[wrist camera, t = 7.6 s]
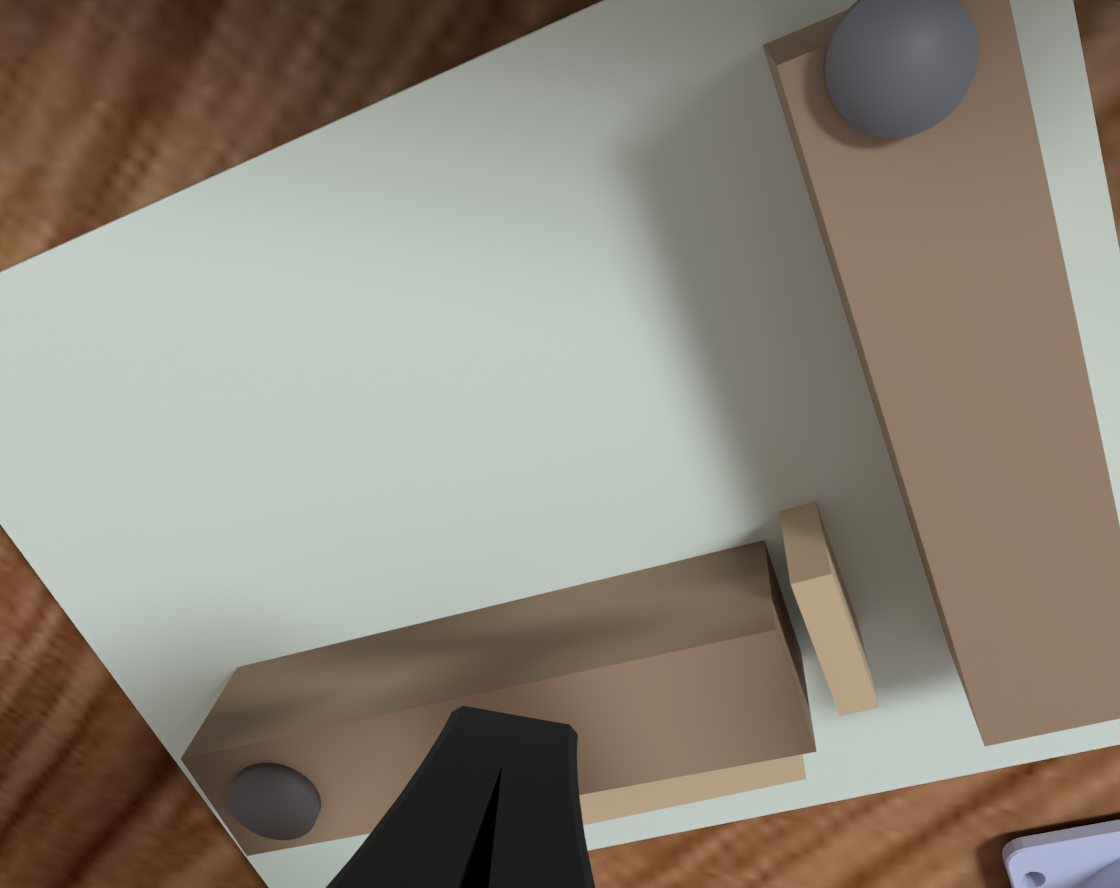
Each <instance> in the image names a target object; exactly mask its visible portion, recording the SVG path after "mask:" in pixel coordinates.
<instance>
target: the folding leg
mask: <svg viewBox="0 0 1120 888" xmlns="http://www.w3.org/2000/svg"><path fill="white" fill-rule="evenodd" d="M461 706H468V707H473V708H479V709H485V710H490V711H496V712H502V713H507V714H513V715H519V716H524V717H530V718H536V719H541V720H547V721H553V722H558V723H564V724H570V725H571V727H572V728H573V729H574V730H575V731H576V733H577V734H578V741H577V772H578V786H579V795H583V794H589V793H594V792H599V791H605V790H610V789H616V788H621V787H627V786H632V785H638V784H643V783H649V782H654V781H660V780H665V779H670V778H676V777H681V776H687V775H692V774H698V773H703V772H709V771H714V770H720V769H725V768H731V767H736V766H742V765H747V764H752V763H758V762H763V761H769V760H774V759H780V758H785V757H791V756H796V755H802V754H807V753H813V752H817V751H816V745H815V738H814V732H813V725H812V719H811V713H810V706H809V700H808V693H807V687H806V680H805V674H804V668H803V661H802V655H801V650H800V647H799V644H798V641H797V638H796V635H795V632H794V629H793V626H792V623H791V620H790V617H789V614H788V611H787V608H786V604H785V601H784V598H783V595H782V592H781V589H780V586H779V583H778V580H777V577H776V574H775V571H774V568H773V565H772V562H771V559H770V556H769V553H768V550H767V546H766V543H765V540H763V541H758V542H754V543H750V544H746V545H742V546H738V547H734V548H729V549H725V550H721V551H717V552H713V553H709V554H705V555H700V556H696V557H692V558H688V559H684V560H680V561H676V562H671V563H667V564H663V565H659V566H655V567H651V568H647V569H642V570H638V571H634V572H630V573H626V574H622V575H617V576H613V577H609V578H605V579H601V580H597V581H593V582H588V583H584V584H580V585H576V586H572V587H568V588H564V589H559V590H555V591H551V592H547V593H543V594H539V595H535V596H530V597H526V598H522V599H518V600H514V601H510V602H506V603H501V604H497V605H493V606H489V607H485V608H481V609H477V610H472V611H468V612H464V613H460V614H456V615H452V616H448V617H443V618H439V619H435V620H431V621H427V622H423V623H419V624H414V625H410V626H406V627H402V628H398V629H394V630H390V631H385V632H381V633H377V634H373V635H369V636H365V637H361V638H356V639H352V640H348V641H344V642H340V643H336V644H332V645H327V646H323V647H319V648H315V649H311V650H307V651H303V652H298V653H294V654H290V655H286V656H282V657H278V658H274V659H269V660H265V661H261V662H257V663H253V664H249V665H245V666H240V667H237V669H236V671H235V672H234V674H233V675H232V677H231V679H230V680H229V682H228V683H227V685H226V687H225V688H224V690H223V691H222V693H221V695H220V696H219V698H218V699H217V701H216V703H215V704H214V706H213V708H212V709H211V711H210V712H209V714H208V716H207V717H206V719H205V720H204V722H203V724H202V725H201V727H200V728H199V730H198V732H197V733H196V735H195V736H194V738H193V740H192V741H191V743H190V745H189V746H188V748H187V749H186V751H185V753H184V754H183V756H182V757H181V760H182V762H183V763H184V765H185V766H186V768H187V769H188V770H189V772H190V773H191V775H192V776H193V778H194V779H195V781H196V782H197V784H198V785H199V787H200V788H201V790H202V791H203V792H204V794H205V795H206V797H207V798H208V800H209V801H210V803H211V804H212V806H213V807H214V809H215V810H216V812H217V813H218V814H219V816H220V817H221V819H222V820H223V822H224V823H225V825H226V826H227V828H228V829H229V831H230V832H231V834H232V835H233V836H234V838H235V839H236V841H237V842H238V844H239V845H240V847H241V848H242V850H243V851H244V853H245V854H246V856H250V855H255V854H261V853H266V852H272V851H277V850H283V849H288V848H294V847H299V846H305V845H310V844H315V843H321V842H326V841H332V840H337V839H343V838H348V837H354V836H359V835H365V834H370V833H371V832H372V831H373V829H374V828H375V827H376V825H377V824H378V823H379V821H380V820H381V819H382V818H383V816H384V815H385V814H386V812H387V811H388V810H389V808H390V807H391V806H392V804H393V803H394V802H395V801H396V799H397V798H398V797H399V795H400V794H401V792H402V791H403V789H404V788H405V787H406V785H407V784H408V782H409V781H410V779H411V778H412V777H413V775H414V774H415V772H416V771H417V769H418V768H419V766H420V765H421V763H422V762H423V760H424V759H425V757H426V756H427V754H428V753H429V751H430V749H431V748H432V746H433V745H434V743H435V741H436V740H437V738H438V736H439V735H440V733H441V731H442V729H443V728H444V726H445V724H446V722H447V720H448V718H449V716H450V714H451V712H452V711H454V710H456V709H458V708H459V707H461Z"/></svg>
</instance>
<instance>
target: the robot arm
mask: <svg viewBox="0 0 1120 888" xmlns="http://www.w3.org/2000/svg"><path fill="white" fill-rule="evenodd" d="M577 741H578V734H577V733H576V731H575V730H574V729H573V728H572V727H571V725H570V724H564V723H558V722H553V721H547V720H541V719H536V718H530V717H524V716H519V715H513V714H507V713H502V712H496V711H490V710H485V709H479V708H473V707H468V706H461V707H459V708H458V709H456V710H454V711H452V712H451V714H450V716H449V718H448V720H447V722H446V724H445V726H444V728H443V729H442V731H441V733H440V735H439V736H438V738H437V740H436V741H435V743H434V745H433V746H432V748H431V749H430V751H429V753H428V754H427V756H426V757H425V759H424V760H423V762H422V763H421V765H420V766H419V768H418V769H417V771H416V772H415V774H414V775H413V777H412V778H411V779H410V781H409V782H408V784H407V785H406V787H405V788H404V789H403V791H402V792H401V794H400V795H399V797H398V798H397V799H396V801H395V802H394V803H393V804H392V806H391V807H390V808H389V810H388V811H387V812H386V814H385V815H384V816H383V818H382V819H381V820H380V821H379V823H378V824H377V825H376V827H375V828H374V829H373V831H372V832H371V833H370V835H369V836H368V837H367V838H366V840H365V841H364V842H363V844H362V845H361V846H360V848H359V849H358V850H357V851H356V852H355V854H354V855H353V856H352V857H351V859H350V860H349V861H348V862H347V863H346V864H345V866H344V867H343V868H342V869H341V870H340V871H339V873H338V874H337V875H336V876H335V877H334V878H333V880H332V881H331V882H330V883H329V884H328V885H327V886H326V888H595V885H594V880H593V875H592V871H591V866H590V861H589V856H588V851H587V845H586V839H585V833H584V827H583V820H582V812H581V805H580V797H579V786H578V772H577ZM1002 857H1003V861H1004V864H1005V867H1006V870H1007V873H1008V877H1009V880H1010V883H1011V886H1012V888H1120V819H1119V820H1113V821H1107V822H1102V823H1096V824H1091V825H1085V826H1080V827H1074V828H1069V829H1063V830H1058V831H1052V832H1047V833H1041V834H1035V835H1030V836H1024V837H1019V838H1016V839H1013V840H1011V841H1010V842H1009V843H1007V844H1006V845H1005V846H1004V848H1003V850H1002ZM1029 872H1033V873H1029Z"/></svg>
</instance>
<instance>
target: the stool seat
mask: <svg viewBox="0 0 1120 888" xmlns="http://www.w3.org/2000/svg"><path fill="white" fill-rule="evenodd" d="M0 524H1V526H2V527H3V529H4V530H5V531H6V533H7V534H8V535H9V537H10V538H11V539H12V541H13V542H14V543H15V545H16V546H17V547H18V549H19V550H20V552H21V553H22V554H23V556H24V557H25V558H26V560H27V561H28V562H29V564H30V565H31V566H32V568H33V569H34V570H35V572H36V573H37V575H38V576H39V577H40V579H41V580H42V581H43V583H44V584H45V585H46V587H47V588H48V589H49V591H50V592H51V594H52V595H53V596H54V598H55V599H56V600H57V602H58V603H59V604H60V606H61V607H62V608H63V610H64V611H65V612H66V614H67V615H68V617H69V618H70V619H71V621H72V622H73V623H74V625H75V626H76V627H77V629H78V630H79V631H80V633H81V634H82V635H83V637H84V638H85V640H86V641H87V642H88V644H89V645H90V646H91V648H92V649H93V650H94V652H95V653H96V654H97V656H98V657H99V659H100V660H101V661H102V663H103V664H104V665H105V667H106V668H107V669H108V671H109V672H110V673H111V675H112V676H113V677H114V679H115V680H116V682H117V683H118V684H119V686H120V687H121V688H122V690H123V691H124V692H125V694H126V695H127V696H128V698H129V699H130V700H131V702H132V703H133V705H134V706H135V707H136V709H137V710H138V711H139V713H140V714H141V715H142V717H143V718H144V719H145V721H146V722H147V724H148V725H149V726H150V728H151V729H152V730H153V732H154V733H155V734H156V736H157V737H158V738H159V740H160V741H161V742H162V744H163V745H164V747H165V748H166V749H167V751H168V752H169V753H170V755H171V756H172V757H173V759H174V760H175V761H176V763H177V764H178V765H179V767H180V768H181V770H182V771H183V772H184V774H185V775H186V776H187V778H188V779H189V780H190V782H191V783H192V784H193V786H194V787H195V789H196V790H197V791H198V793H199V794H200V795H201V797H202V798H203V799H204V801H205V802H206V803H207V805H208V806H209V807H210V809H211V810H212V812H213V813H214V814H215V816H216V817H217V818H218V820H219V821H220V822H221V824H222V825H223V826H224V828H225V829H226V830H227V832H228V833H229V835H230V836H231V837H232V839H233V840H234V841H235V843H236V844H237V845H238V847H239V848H240V849H241V851H242V852H243V854H244V855H245V856H246V854H245V853H244V851H243V850H242V848H241V847H240V845H239V844H238V842H237V841H236V839H235V838H234V836H233V835H232V834H231V832H230V831H229V829H228V828H227V826H226V825H225V823H224V822H223V820H222V819H221V817H220V816H219V814H218V813H217V812H216V810H215V809H214V807H213V806H212V804H211V803H210V801H209V800H208V798H207V797H206V795H205V794H204V792H203V791H202V790H201V788H200V787H199V785H198V784H197V782H196V781H195V779H194V778H193V776H192V775H191V773H190V772H189V770H188V769H187V768H186V766H185V765H184V763H183V762H182V760H181V757H182V756H183V754H184V753H185V751H186V749H187V748H188V746H189V745H190V743H191V741H192V740H193V738H194V736H195V735H196V733H197V732H198V730H199V728H200V727H201V725H202V724H203V722H204V720H205V719H206V717H207V716H208V714H209V712H210V711H211V709H212V708H213V706H214V704H215V703H216V701H217V699H218V698H219V696H220V695H221V693H222V691H223V690H224V688H225V687H226V685H227V683H228V682H229V680H230V679H231V677H232V675H233V674H234V672H235V671H236V669H237V667H240V666H245V665H249V664H253V663H257V662H261V661H265V660H269V659H274V658H278V657H282V656H286V655H290V654H294V653H298V652H303V651H307V650H311V649H315V648H319V647H323V646H327V645H332V644H336V643H340V642H344V641H348V640H352V639H356V638H361V637H365V636H369V635H373V634H377V633H381V632H385V631H390V630H394V629H398V628H402V627H406V626H410V625H414V624H419V623H423V622H427V621H431V620H435V619H439V618H443V617H448V616H452V615H456V614H460V613H464V612H468V611H472V610H477V609H481V608H485V607H489V606H493V605H497V604H501V603H506V602H510V601H514V600H518V599H522V598H526V597H530V596H535V595H539V594H543V593H547V592H551V591H555V590H559V589H564V588H568V587H572V586H576V585H580V584H584V583H588V582H593V581H597V580H601V579H605V578H609V577H613V576H617V575H622V574H626V573H630V572H634V571H638V570H642V569H647V568H651V567H655V566H659V565H663V564H667V563H671V562H676V561H680V560H684V559H688V558H692V557H696V556H700V555H705V554H709V553H713V552H717V551H721V550H725V549H729V548H734V547H738V546H742V545H746V544H750V543H754V542H758V541H763V540H765V543H766V546H767V550H768V553H769V556H770V559H771V562H772V565H773V568H774V571H775V574H776V577H777V580H778V583H779V586H780V589H781V592H782V595H783V598H784V601H785V604H786V608H787V611H788V614H789V617H790V620H791V623H792V626H793V629H794V632H795V635H796V638H797V641H798V644H799V647H800V650H801V655H802V661H803V668H804V674H805V680H806V687H807V693H808V700H809V706H810V713H811V719H812V725H813V732H814V738H815V745H816V751H817V752H813V753H807V754H802V755H796V756H791V757H785V758H780V759H774V760H769V761H763V762H758V763H752V764H747V765H742V766H736V767H731V768H725V769H720V770H714V771H709V772H703V773H698V774H692V775H687V776H681V777H676V778H670V779H665V780H660V781H654V782H649V783H643V784H638V785H632V786H627V787H621V788H616V789H610V790H605V791H599V792H594V793H589V794H583V795H579V797H580V805H581V812H582V820H583V827H584V833H585V839H586V845H587V851H588V850H593V849H598V848H603V847H608V846H613V845H618V844H623V843H628V842H633V841H638V840H643V839H648V838H653V837H658V836H663V835H668V834H673V833H678V832H683V831H688V830H693V829H698V828H703V827H708V826H713V825H718V824H723V823H728V822H733V821H738V820H743V819H748V818H753V817H758V816H763V815H768V814H773V813H778V812H783V811H788V810H793V809H798V808H803V807H808V806H813V805H818V804H823V803H828V802H834V801H839V800H844V799H849V798H854V797H859V796H864V795H869V794H874V793H879V792H884V791H889V790H894V789H899V788H904V787H909V786H914V785H919V784H924V783H929V782H934V781H939V780H944V779H949V778H954V777H959V776H964V775H969V774H974V773H979V772H984V771H989V770H994V769H999V768H1004V767H1009V766H1014V765H1019V764H1024V763H1029V762H1034V761H1039V760H1044V759H1049V758H1054V757H1059V756H1064V755H1069V754H1074V753H1079V752H1084V751H1089V750H1094V749H1099V748H1104V747H1109V746H1114V745H1119V744H1120V251H1119V245H1118V240H1117V235H1116V229H1115V224H1114V218H1113V213H1112V208H1111V202H1110V197H1109V191H1108V186H1107V181H1106V175H1105V170H1104V165H1103V159H1102V154H1101V148H1100V143H1099V138H1098V132H1097V127H1096V121H1095V116H1094V111H1093V105H1092V100H1091V94H1090V89H1089V84H1088V78H1087V73H1086V67H1085V62H1084V57H1083V51H1082V46H1081V41H1080V35H1079V30H1078V24H1077V19H1076V14H1075V8H1074V3H1073V0H602V1H600V2H598V3H595V4H593V5H591V6H589V7H587V8H584V9H582V10H580V11H578V12H575V13H573V14H571V15H569V16H567V17H564V18H562V19H560V20H558V21H555V22H553V23H551V24H549V25H547V26H544V27H542V28H540V29H538V30H535V31H533V32H531V33H529V34H527V35H524V36H522V37H520V38H518V39H515V40H513V41H511V42H509V43H507V44H504V45H502V46H500V47H498V48H495V49H493V50H491V51H489V52H487V53H484V54H482V55H480V56H478V57H476V58H473V59H471V60H469V61H467V62H464V63H462V64H460V65H458V66H456V67H453V68H451V69H449V70H447V71H444V72H442V73H440V74H438V75H436V76H433V77H431V78H429V79H427V80H424V81H422V82H420V83H418V84H416V85H413V86H411V87H409V88H407V89H404V90H402V91H400V92H398V93H396V94H393V95H391V96H389V97H387V98H384V99H382V100H380V101H378V102H376V103H373V104H371V105H369V106H367V107H364V108H362V109H360V110H358V111H356V112H353V113H351V114H349V115H347V116H345V117H342V118H340V119H338V120H336V121H333V122H331V123H329V124H327V125H325V126H322V127H320V128H318V129H316V130H313V131H311V132H309V133H307V134H305V135H302V136H300V137H298V138H296V139H293V140H291V141H289V142H287V143H285V144H282V145H280V146H278V147H276V148H273V149H271V150H269V151H267V152H265V153H262V154H260V155H258V156H256V157H253V158H251V159H249V160H247V161H245V162H242V163H240V164H238V165H236V166H234V167H231V168H229V169H227V170H225V171H222V172H220V173H218V174H216V175H214V176H211V177H209V178H207V179H205V180H202V181H200V182H198V183H196V184H194V185H191V186H189V187H187V188H185V189H182V190H180V191H178V192H176V193H174V194H171V195H169V196H167V197H165V198H162V199H160V200H158V201H156V202H154V203H151V204H149V205H147V206H145V207H142V208H140V209H138V210H136V211H134V212H131V213H129V214H127V215H125V216H122V217H120V218H118V219H116V220H114V221H111V222H109V223H107V224H105V225H103V226H100V227H98V228H96V229H94V230H91V231H89V232H87V233H85V234H83V235H80V236H78V237H76V238H74V239H71V240H69V241H67V242H65V243H63V244H60V245H58V246H56V247H54V248H51V249H49V250H47V251H45V252H43V253H40V254H38V255H36V256H34V257H31V258H29V259H27V260H25V261H23V262H20V263H18V264H16V265H14V266H11V267H9V268H7V269H5V270H3V271H0ZM369 835H370V834H365V835H359V836H354V837H348V838H343V839H337V840H332V841H326V842H321V843H315V844H310V845H305V846H299V847H294V848H288V849H283V850H277V851H272V852H266V853H261V854H255V855H250V856H246V858H247V859H248V860H249V862H250V863H251V864H252V866H253V867H254V868H255V870H256V871H257V872H258V874H259V875H260V877H261V878H262V879H263V881H264V882H265V883H266V885H267V886H268V887H269V888H326V886H327V885H328V884H329V883H330V882H331V881H332V880H333V878H334V877H335V876H336V875H337V874H338V873H339V871H340V870H341V869H342V868H343V867H344V866H345V864H346V863H347V862H348V861H349V860H350V859H351V857H352V856H353V855H354V854H355V852H356V851H357V850H358V849H359V848H360V846H361V845H362V844H363V842H364V841H365V840H366V838H367V837H368V836H369Z"/></svg>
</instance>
